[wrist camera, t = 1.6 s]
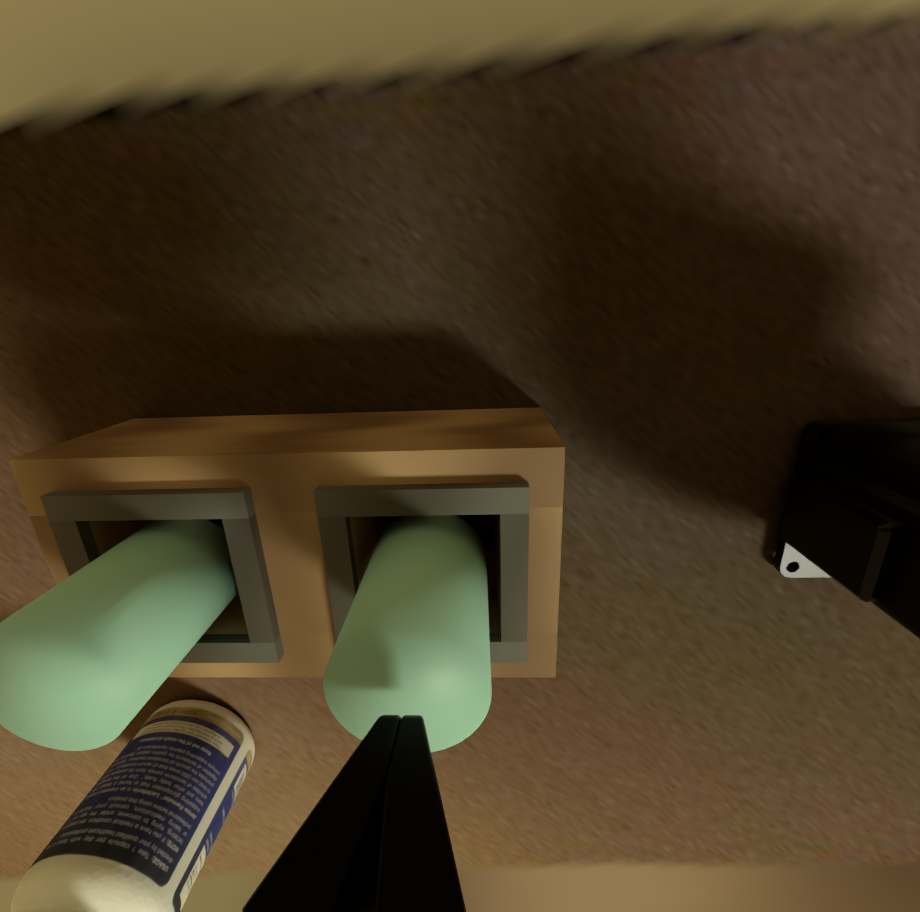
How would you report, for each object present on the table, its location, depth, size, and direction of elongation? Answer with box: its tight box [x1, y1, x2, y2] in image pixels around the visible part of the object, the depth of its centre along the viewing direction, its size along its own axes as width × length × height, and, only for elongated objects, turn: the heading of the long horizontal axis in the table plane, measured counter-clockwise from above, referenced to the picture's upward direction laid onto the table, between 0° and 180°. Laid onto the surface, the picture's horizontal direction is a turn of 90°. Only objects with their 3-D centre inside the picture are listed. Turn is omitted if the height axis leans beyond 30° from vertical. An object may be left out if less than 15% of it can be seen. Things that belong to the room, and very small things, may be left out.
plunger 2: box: [323, 515, 492, 752], centre depth 12 cm, size 4×4×5 cm
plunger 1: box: [0, 519, 238, 751], centre depth 12 cm, size 4×4×5 cm
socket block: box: [8, 407, 565, 677], centre depth 16 cm, size 16×8×5 cm, turn 92°
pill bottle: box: [10, 700, 255, 912], centre depth 18 cm, size 6×6×10 cm
